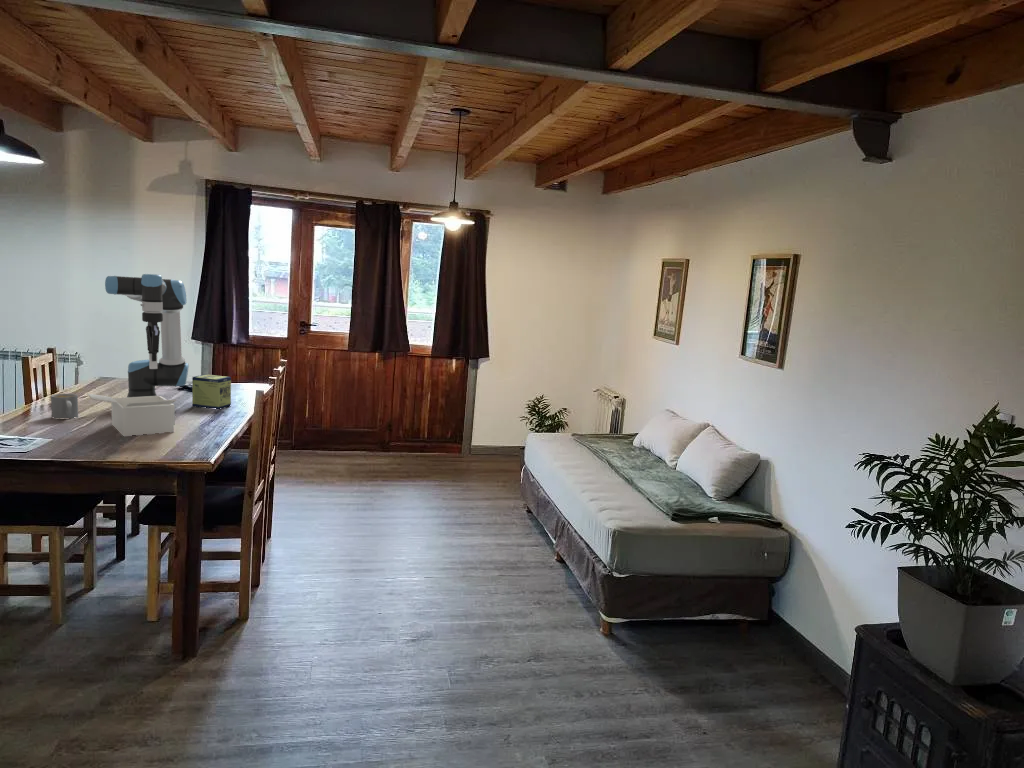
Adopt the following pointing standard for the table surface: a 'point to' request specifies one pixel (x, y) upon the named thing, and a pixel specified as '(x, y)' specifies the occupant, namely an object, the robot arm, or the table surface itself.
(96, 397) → the side flap
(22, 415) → the table surface
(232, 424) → the table surface
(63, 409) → the coffee mug
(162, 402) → the front flap
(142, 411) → the carton
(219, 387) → the protein box
